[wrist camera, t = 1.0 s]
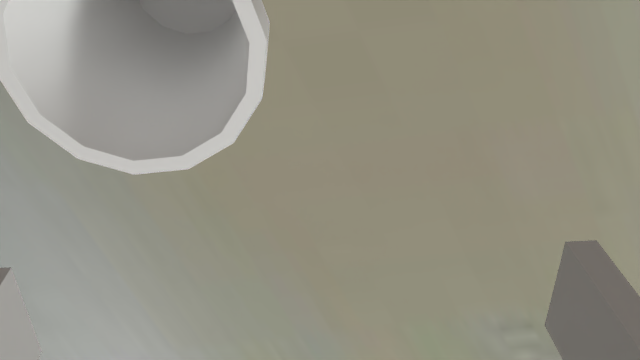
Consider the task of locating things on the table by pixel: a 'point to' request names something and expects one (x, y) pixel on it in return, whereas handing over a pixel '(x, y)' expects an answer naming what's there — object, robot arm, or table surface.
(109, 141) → the foam cup
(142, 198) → the table surface
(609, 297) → the robot arm
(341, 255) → the table surface
